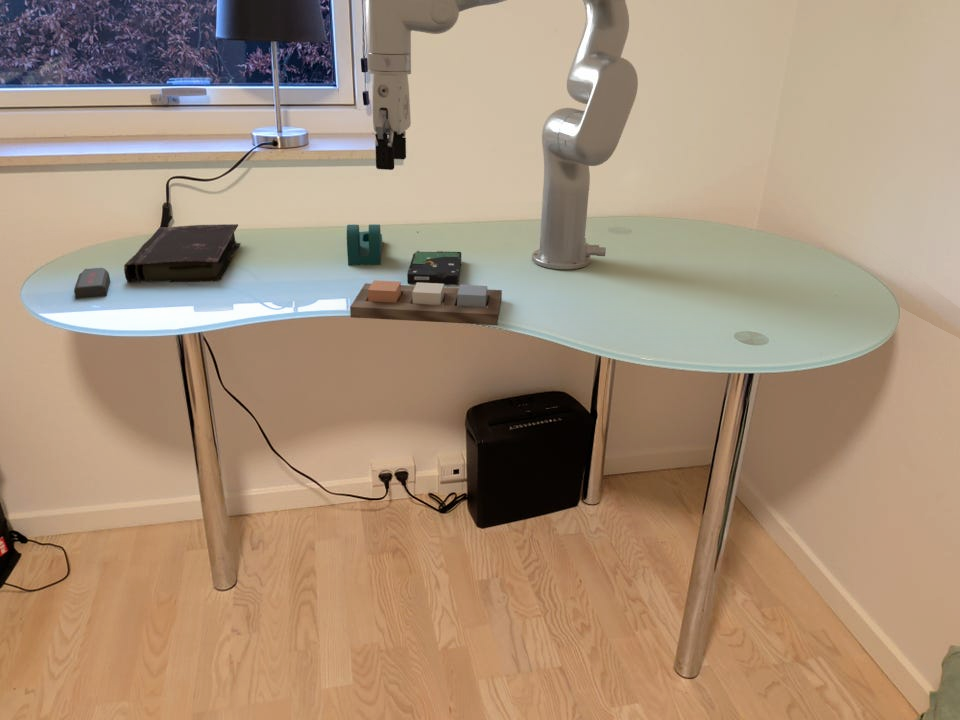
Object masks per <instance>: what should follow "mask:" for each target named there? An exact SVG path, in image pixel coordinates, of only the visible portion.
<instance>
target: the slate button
mask: <svg viewBox="0 0 960 720" xmlns="http://www.w3.org/2000/svg"><path fill="white" fill-rule="evenodd" d="M458 288H459V290H458V293H457V306H468V307H487V305H486V304H487V289H488V285H479V284H478V285H477V284H475V285H474V284H473V285H472V284H459V287H458Z"/></svg>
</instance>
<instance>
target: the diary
mask: <svg viewBox="0 0 960 720" xmlns="http://www.w3.org/2000/svg"><path fill="white" fill-rule="evenodd" d="M238 226H239V224H237V223H236V224H234V223H233V224H232V223H231V224H196V225H195V224H193V225H179V226H169V227H168V226H167V227H166V226H165V227H158V228H157V230H156V231H155V232H154V233H153V235H151V237H150V238H148V240H147V241H146V242H144V243H143V244H142V246H140V248H139V249H138V251H136V253H135V254H134V255H133V256H131V258H129V259H128V261H126V262H125V264H123V265H124V266H123V267H124V268H123V273H124V276H125V280H126V282H127V284H131V283H132V282H133V281H134V280H135V278H137V279H138V281H139V284H141V283H142V282H143V281H144V280H145V281H146V282H169V283H200V282H201V283H203V282H204V283H205V282H209V283H210V282H218V281H220V280H222V278H223V277H224V275H225V273H226V271H227V270H228V268H229V265H230V264H231V261H233V259H234V257H235V255H233V254H234V252H236V251H237V250H238V249H239V247H240V246H241V244H242V243H241V242H238V241H236V236H235V232H236V230H237V228H238Z"/></svg>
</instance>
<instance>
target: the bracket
mask: <svg viewBox="0 0 960 720" xmlns="http://www.w3.org/2000/svg"><path fill="white" fill-rule="evenodd" d="M346 252H347V254H346V255H347V265H348V266H381V264H382V263H381V262H382V255H383V254H382V252H383V234H382V233H381V224H368V230H367V231H366V230H365V231H360V225H359V224H347V225H346Z"/></svg>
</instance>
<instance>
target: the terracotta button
mask: <svg viewBox="0 0 960 720" xmlns="http://www.w3.org/2000/svg"><path fill="white" fill-rule="evenodd" d="M370 284H371V286H370V287H369V289H368V301H371V302H390V303H398V302H399V300H400V298H401V285H402V283H401V281H394V280H375V279H374V280H373V281H372V283H370Z"/></svg>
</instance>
